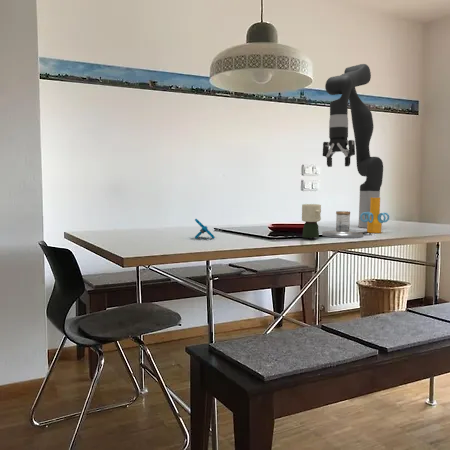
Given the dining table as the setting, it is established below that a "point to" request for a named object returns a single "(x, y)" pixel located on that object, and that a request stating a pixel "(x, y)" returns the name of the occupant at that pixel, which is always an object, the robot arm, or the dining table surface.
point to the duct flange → (342, 234)
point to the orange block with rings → (374, 216)
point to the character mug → (311, 220)
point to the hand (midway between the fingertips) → (338, 166)
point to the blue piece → (203, 230)
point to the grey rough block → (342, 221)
